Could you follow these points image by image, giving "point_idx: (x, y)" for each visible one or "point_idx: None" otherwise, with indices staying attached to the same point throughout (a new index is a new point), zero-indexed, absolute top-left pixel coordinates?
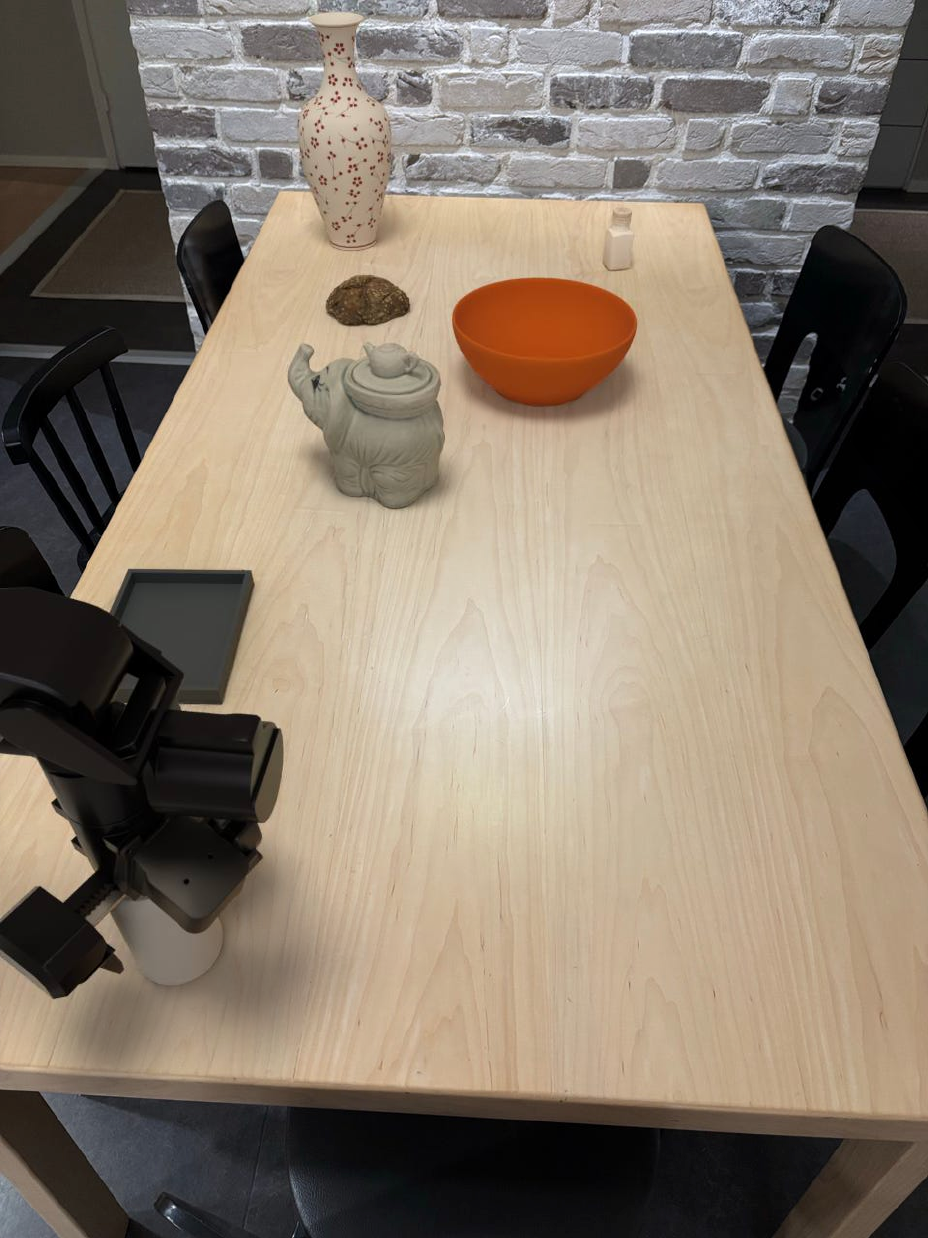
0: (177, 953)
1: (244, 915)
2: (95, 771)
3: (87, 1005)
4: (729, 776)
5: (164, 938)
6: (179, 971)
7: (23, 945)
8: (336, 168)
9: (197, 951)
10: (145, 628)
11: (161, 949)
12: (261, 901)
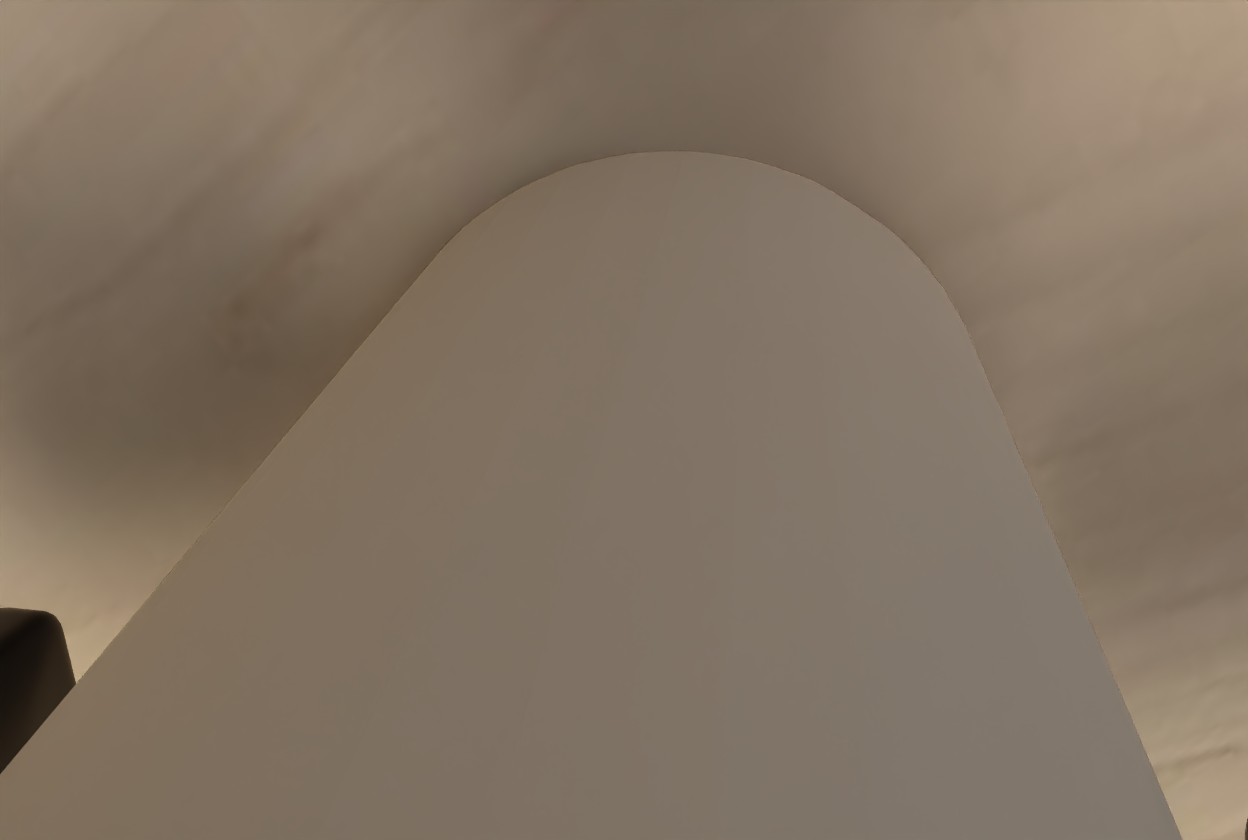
0: (923, 412)
1: (266, 211)
2: None
3: (1238, 661)
4: None
5: (1069, 725)
6: (922, 305)
7: None
8: None
9: (741, 264)
10: None
11: (1065, 607)
12: (119, 174)
